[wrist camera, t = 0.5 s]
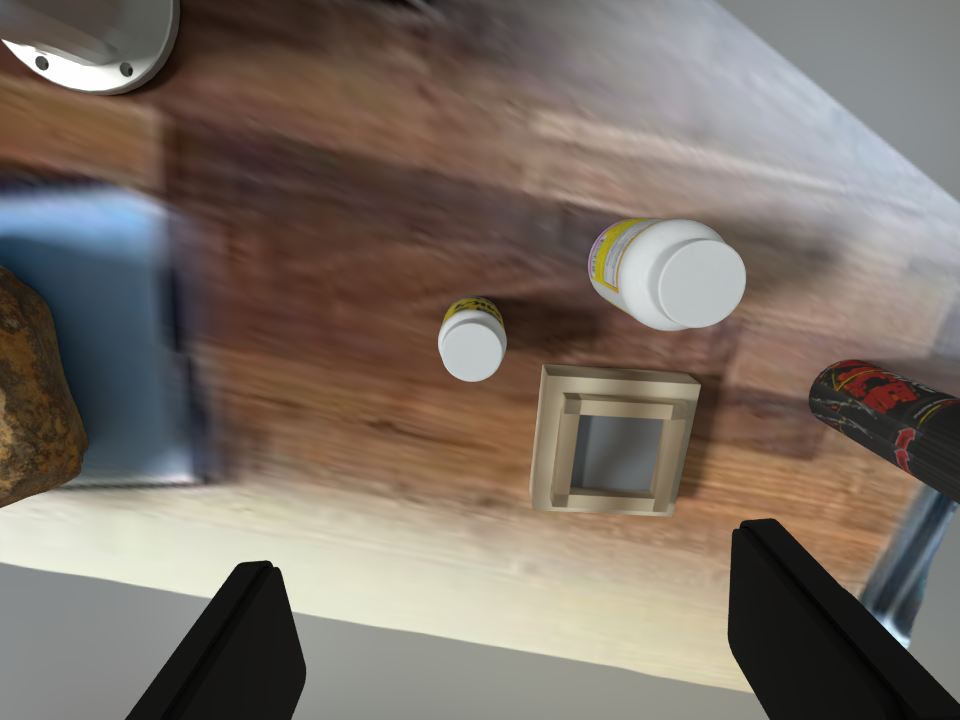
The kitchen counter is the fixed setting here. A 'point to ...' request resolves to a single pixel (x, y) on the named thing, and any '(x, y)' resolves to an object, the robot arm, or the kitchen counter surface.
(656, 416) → the plinth
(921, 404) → the deodorant
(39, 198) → the kitchen counter surface
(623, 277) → the supplement bottle
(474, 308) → the supplement bottle
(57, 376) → the rough brown rock
